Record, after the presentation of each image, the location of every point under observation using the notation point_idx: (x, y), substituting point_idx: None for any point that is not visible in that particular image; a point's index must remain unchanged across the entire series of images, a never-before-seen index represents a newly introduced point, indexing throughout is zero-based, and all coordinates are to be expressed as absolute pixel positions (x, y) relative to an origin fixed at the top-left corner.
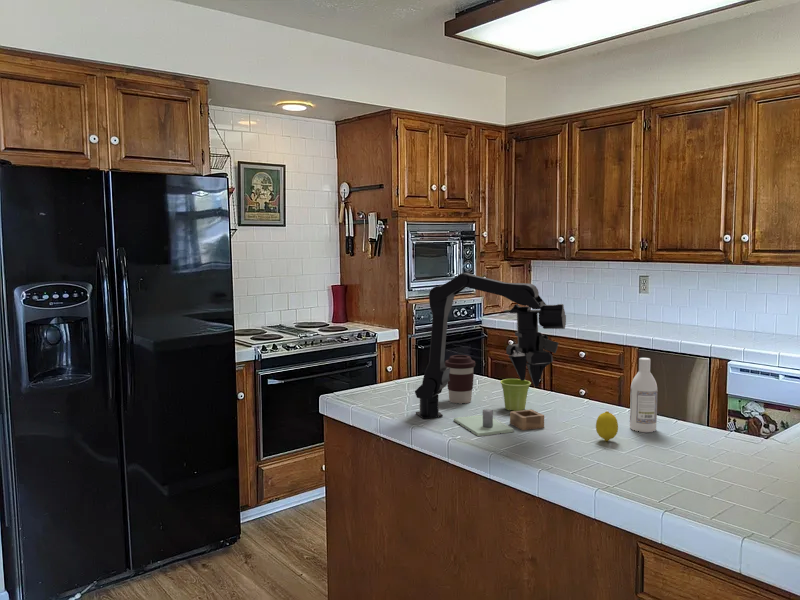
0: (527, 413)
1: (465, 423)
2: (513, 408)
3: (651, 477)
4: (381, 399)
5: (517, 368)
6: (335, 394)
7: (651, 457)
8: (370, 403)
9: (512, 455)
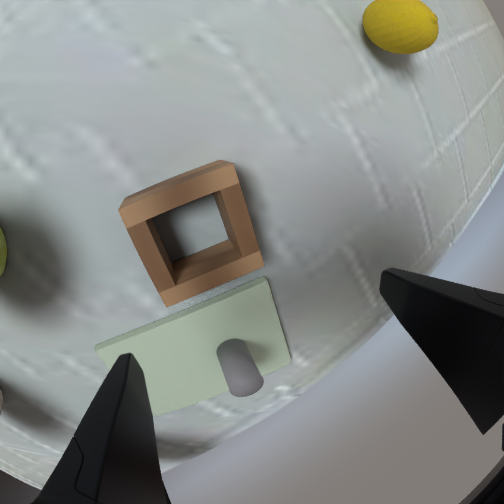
0: (150, 228)
1: (202, 395)
2: (4, 259)
3: (483, 97)
4: (47, 472)
5: (158, 480)
6: None
7: (439, 31)
8: None
9: None
